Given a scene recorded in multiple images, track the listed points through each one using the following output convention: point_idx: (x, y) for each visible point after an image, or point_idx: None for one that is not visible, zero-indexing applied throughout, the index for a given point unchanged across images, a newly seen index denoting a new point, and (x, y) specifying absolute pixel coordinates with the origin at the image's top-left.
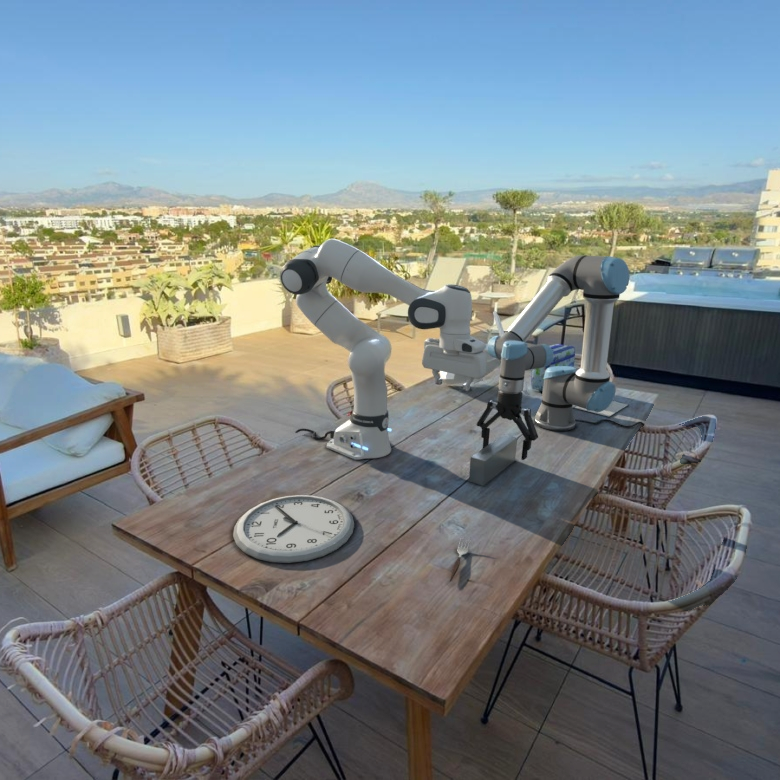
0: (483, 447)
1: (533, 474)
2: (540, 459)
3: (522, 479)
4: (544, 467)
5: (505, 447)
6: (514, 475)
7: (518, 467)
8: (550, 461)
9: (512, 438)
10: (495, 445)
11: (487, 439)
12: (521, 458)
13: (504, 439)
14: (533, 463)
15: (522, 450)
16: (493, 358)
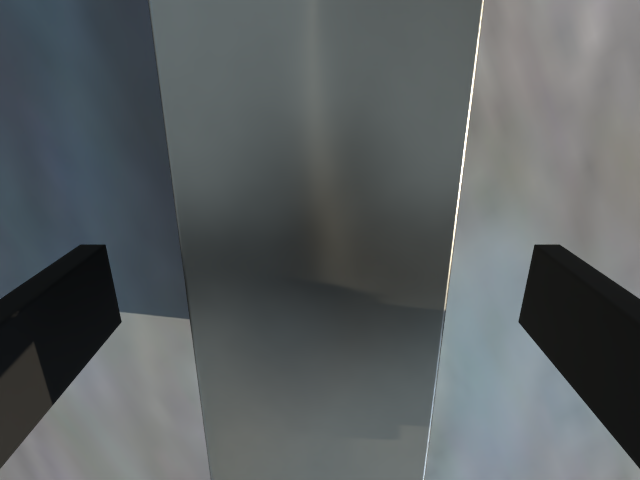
0: (557, 251)
1: (15, 187)
2: (135, 438)
3: (11, 23)
4: None
5: (172, 120)
6: (112, 56)
7: (177, 232)
8: (70, 447)
9: (252, 468)
10: (341, 15)
11: (580, 347)
12: (97, 249)
13: (330, 377)
14: (133, 360)
15: (34, 296)
16: None
